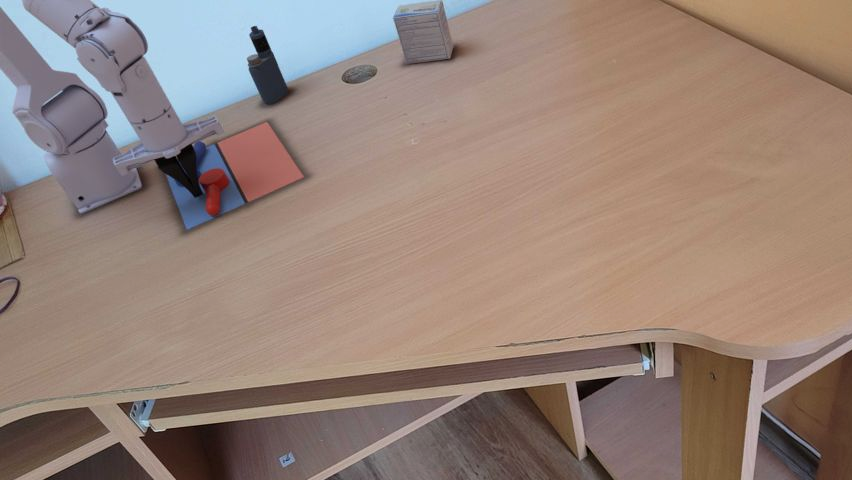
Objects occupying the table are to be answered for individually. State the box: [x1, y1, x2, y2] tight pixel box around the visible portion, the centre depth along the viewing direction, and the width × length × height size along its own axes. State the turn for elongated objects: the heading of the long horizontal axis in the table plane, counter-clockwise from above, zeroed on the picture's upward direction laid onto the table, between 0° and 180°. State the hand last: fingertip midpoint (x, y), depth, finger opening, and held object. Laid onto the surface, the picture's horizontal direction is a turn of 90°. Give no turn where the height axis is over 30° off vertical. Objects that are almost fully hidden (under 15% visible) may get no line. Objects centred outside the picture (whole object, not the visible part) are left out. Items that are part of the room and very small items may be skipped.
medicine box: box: [392, 0, 454, 65], centre depth 120 cm, size 8×4×9 cm, turn 84°
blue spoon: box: [174, 141, 207, 187], centre depth 109 cm, size 10×4×2 cm, turn 1°
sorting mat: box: [165, 121, 305, 231], centre depth 107 cm, size 18×20×1 cm
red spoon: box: [199, 168, 229, 215], centre depth 102 cm, size 10×4×2 cm, turn 15°
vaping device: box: [246, 25, 290, 105], centre depth 118 cm, size 3×5×12 cm, turn 150°
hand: (197, 193), depth 103 cm, fingers closed
